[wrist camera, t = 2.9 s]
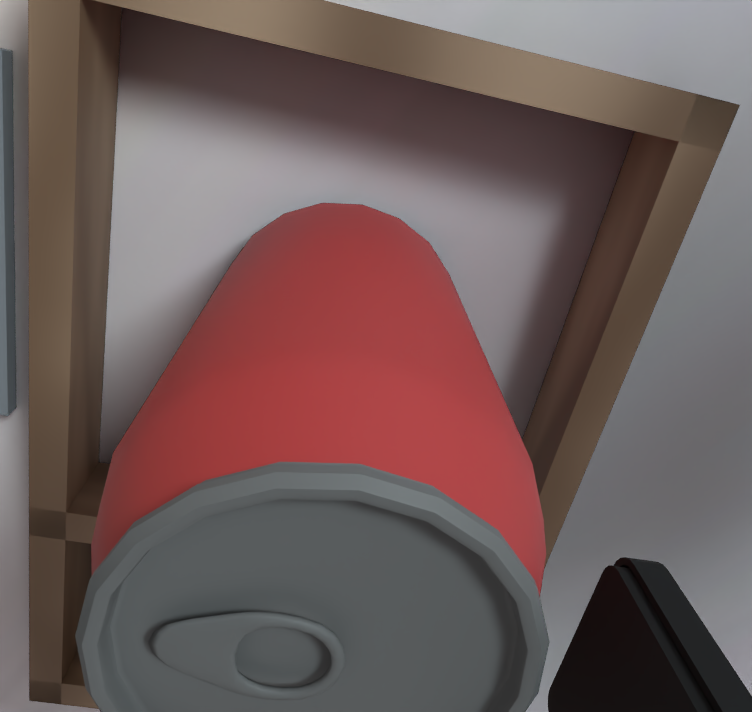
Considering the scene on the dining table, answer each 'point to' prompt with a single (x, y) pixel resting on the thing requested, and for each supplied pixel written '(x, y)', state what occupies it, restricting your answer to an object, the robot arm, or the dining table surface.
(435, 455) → the beer can
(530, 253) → the dining table surface
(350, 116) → the dining table surface
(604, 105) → the slot rack
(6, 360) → the slate pad
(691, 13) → the dining table surface
